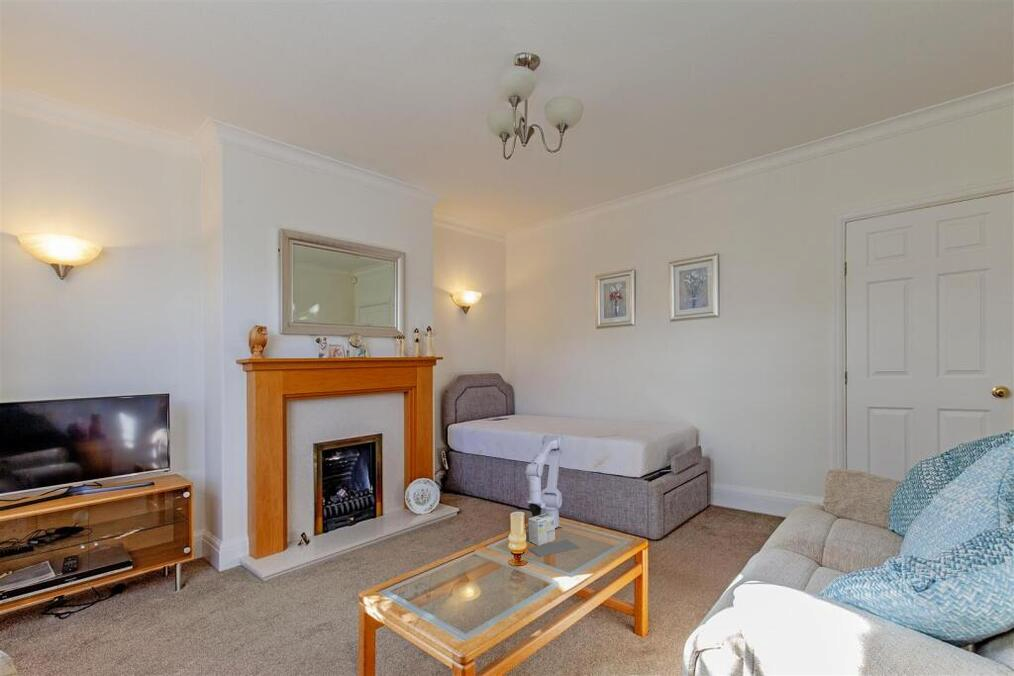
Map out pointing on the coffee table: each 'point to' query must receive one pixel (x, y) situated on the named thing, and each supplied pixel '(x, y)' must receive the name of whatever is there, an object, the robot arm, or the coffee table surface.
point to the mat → (553, 548)
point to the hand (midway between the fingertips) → (536, 520)
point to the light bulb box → (541, 529)
